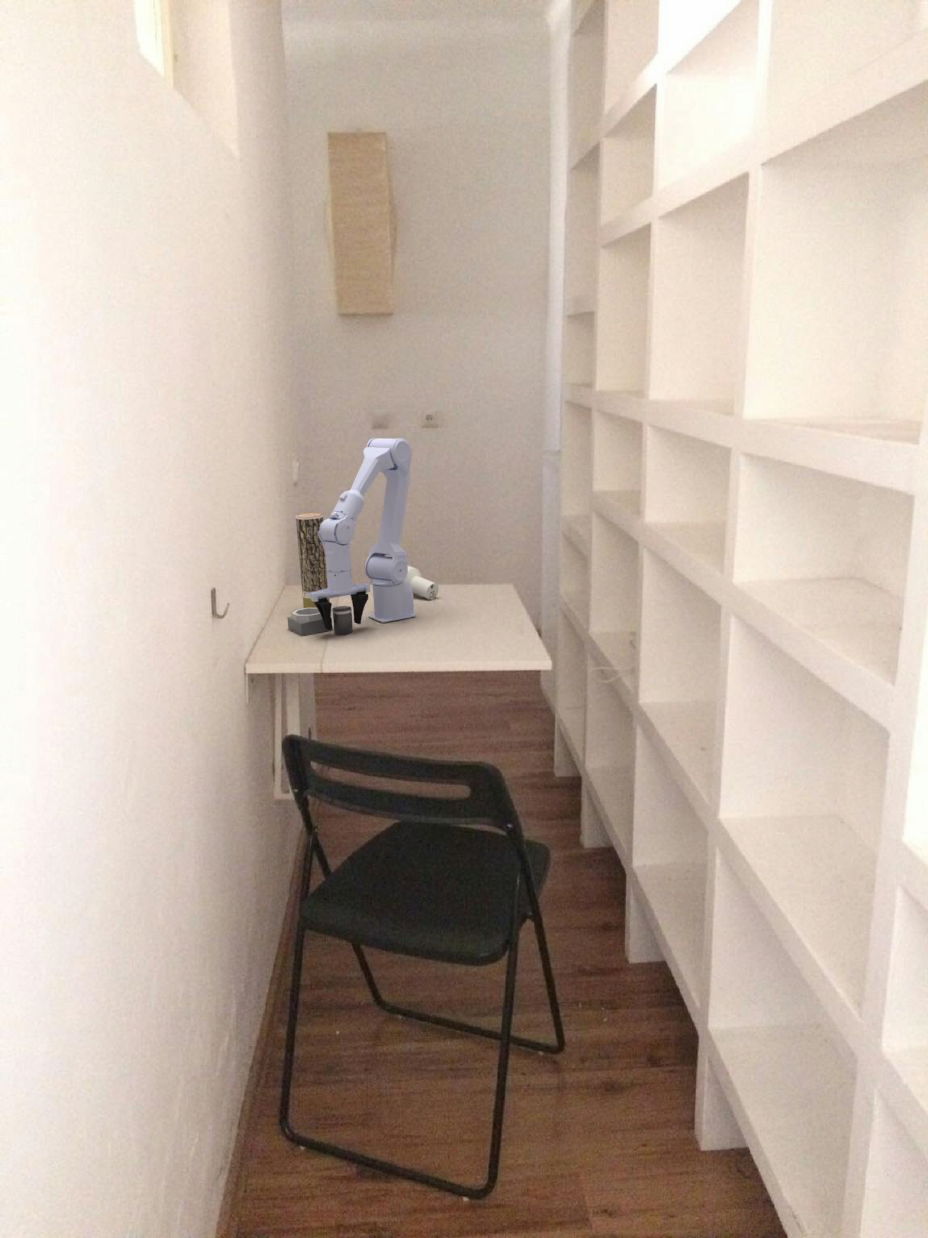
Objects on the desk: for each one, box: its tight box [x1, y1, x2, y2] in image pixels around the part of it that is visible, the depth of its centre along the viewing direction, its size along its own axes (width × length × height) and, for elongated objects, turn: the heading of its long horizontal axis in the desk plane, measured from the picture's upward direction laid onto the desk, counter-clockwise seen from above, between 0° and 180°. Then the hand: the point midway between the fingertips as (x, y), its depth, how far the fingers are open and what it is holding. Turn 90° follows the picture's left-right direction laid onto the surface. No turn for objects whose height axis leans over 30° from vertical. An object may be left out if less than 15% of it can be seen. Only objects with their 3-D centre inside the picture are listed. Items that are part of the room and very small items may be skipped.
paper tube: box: [295, 512, 331, 608], centre depth 248 cm, size 7×7×25 cm
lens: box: [331, 605, 354, 636], centre depth 229 cm, size 4×4×6 cm
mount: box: [286, 607, 334, 637], centre depth 233 cm, size 8×8×4 cm
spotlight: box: [405, 564, 439, 600], centre depth 261 cm, size 8×11×8 cm
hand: (343, 626), depth 229 cm, fingers open, 7 cm apart
